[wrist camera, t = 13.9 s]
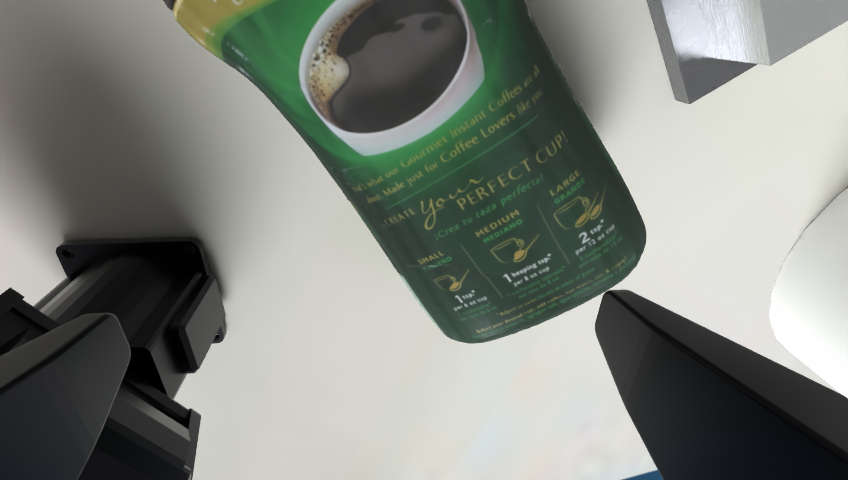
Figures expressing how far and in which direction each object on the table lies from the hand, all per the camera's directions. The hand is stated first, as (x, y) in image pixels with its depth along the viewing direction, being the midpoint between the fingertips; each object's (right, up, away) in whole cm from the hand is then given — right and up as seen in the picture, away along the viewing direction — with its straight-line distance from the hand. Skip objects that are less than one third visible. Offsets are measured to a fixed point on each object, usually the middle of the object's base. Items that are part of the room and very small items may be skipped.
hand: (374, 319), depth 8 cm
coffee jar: (+6, 0, +11) cm, 13 cm away
